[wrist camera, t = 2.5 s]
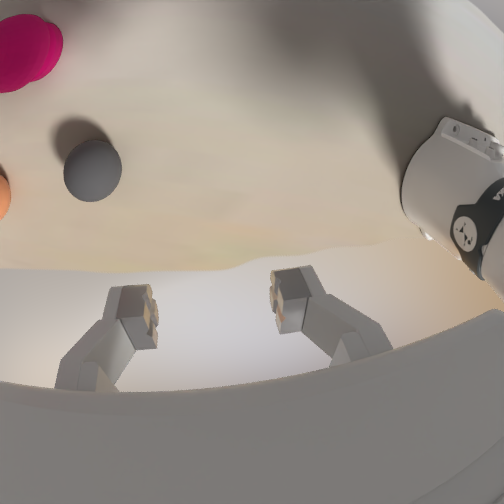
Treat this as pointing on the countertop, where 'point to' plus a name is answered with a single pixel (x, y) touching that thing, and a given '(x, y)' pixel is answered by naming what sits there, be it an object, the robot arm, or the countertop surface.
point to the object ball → (4, 196)
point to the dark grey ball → (92, 170)
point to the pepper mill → (27, 50)
